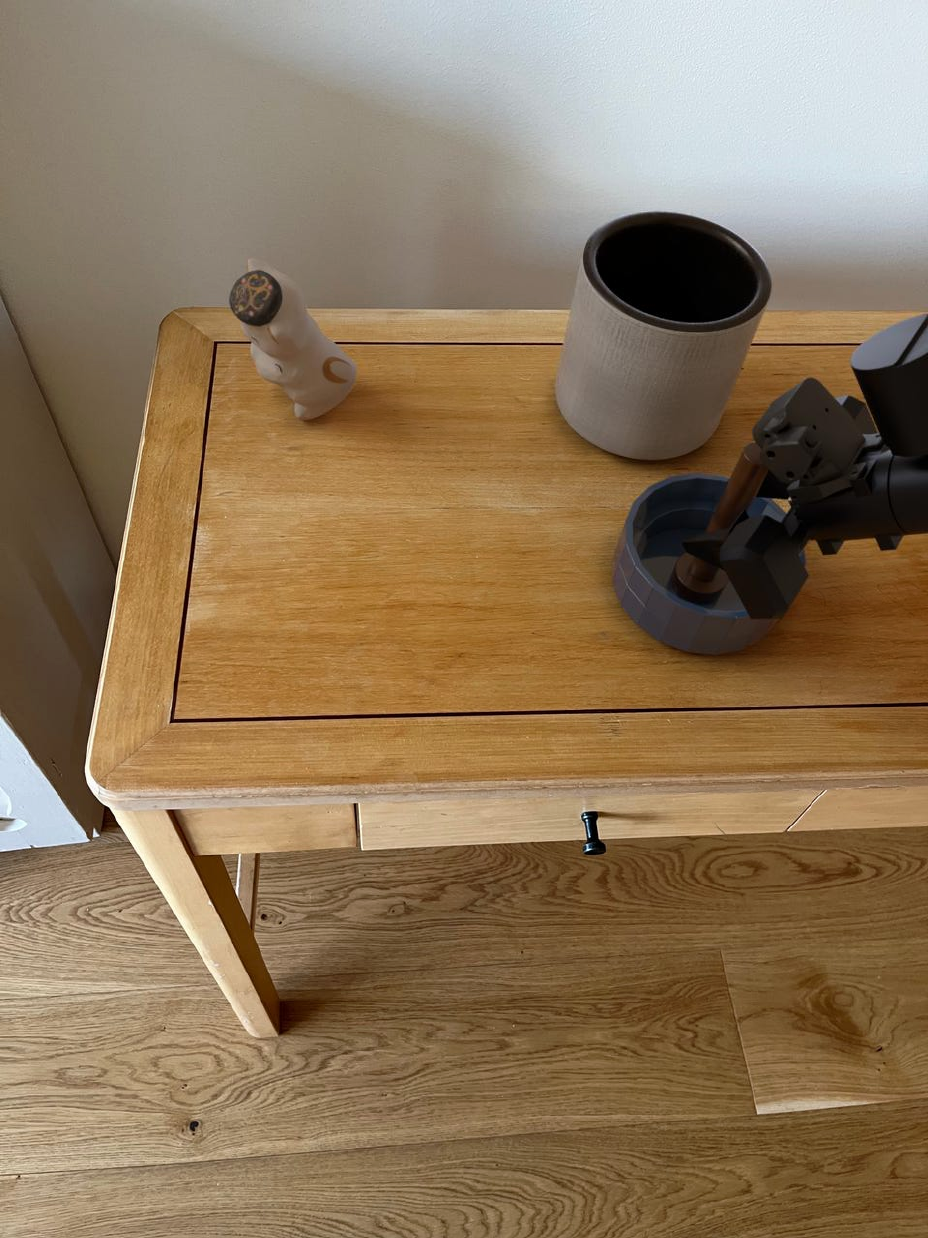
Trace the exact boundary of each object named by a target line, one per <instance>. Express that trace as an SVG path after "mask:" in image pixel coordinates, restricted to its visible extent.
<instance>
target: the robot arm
mask: <svg viewBox="0 0 928 1238" xmlns="http://www.w3.org/2000/svg"><path fill="white" fill-rule="evenodd" d="M849 364H850V368H851V370H852V372H853V375H854V377H855V379H856V381H857V382H856V383H857V384H858V386H859V389H860V391H861V394H862V396H863V398H864V400H865V402H864V401H862V400H860V399H858V398H856V397H854V396H852V395H850V394H847V395H841V396H838V397H835V396H833V395H832V393H831V392H830V391H829V390H828V388H826V387H825V385H823V384H822V383H821V381H820V380H818V379H816V378H814V377H811V376H810V377H806V378H805V379H803V380H802V381H800V382H799V383H797V384H796V385H795V386H793V387H791V388H790V389H788V390H787V391H786V392H784V393H783V394H781V395H780V396H778V397H777V398H775V399H774V400H772V402H771V403H770V404H769V406H768V408H767V409H766V411H765V412H764V413H763V415H762V416H761V417H760V418H759V420H757V422H756V423H755V424H753V427H752V430H751V432H752V433H751V435H752V439H753V440H754V441H753V442H756V444H757V445H758V446H759V447H760V448H761V449H762V450H761V451H760V460H761V461H762V462H763V464H764V465H765V466H766V467H767V468H768V469H769V471H768V473H767V475H766V477H765V479H764V481H763V483H762V485H761V487H760V489H759V491H758V493H757V495H756V496H755V497H760V498H772V500H774V499H775V500H786V501H787V502H788V504H789V506H790V508H789V509H788V511H787V512H786V515H785V517H784V518H783V520H782V521H781V523H780V522H779V521H777V520H775V519H773V518H771V517H769V516H767V515H760V516H752V517H750V518H749V516H748V514H747V512H746V510H745V509H743V510H742V512H741V513H740V514H739V516H738V517H737V519H736V520H735V521H734V523H733V524H732V526H731V527H730V528H726V529H722V530H717V531H713V532H708V533H704V534H699V535H696V536H692V537H689V538H686V539H684V540H683V541H682V545H683V547H684V549H685V551H686V552H687V553H688V554H690V555H692V556H694V557H697V558H699V559H701V560H703V561H705V562H707V563H709V564H711V565H713V566H715V567H718V568H720V569H722V570H724V571H725V572H726V574H727V576H728V578H729V579H730V581H731V583H732V585H733V587H734V589H735V591H736V592H737V594H738V596H739V598H740V600H741V602H742V604H743V605H744V607H745V609H746V611H747V613H748V615H749V617H750V618H751V619H755V620H770V619H778V620H783V618H784V616H785V615H786V614H787V612H788V611H789V609H790V608H791V606H792V605H793V602H794V601H795V599H796V598H797V596H798V594H799V593H800V591H801V590H802V589H803V587H804V585H805V583H806V582H807V581H808V579H809V577H810V575H809V573H808V571H807V568H806V566H804V564H803V562H802V560H801V558H800V555H801V553H802V552H803V550H804V551H805V549H806V547H807V545H808V544H809V543H810V542H811V541H815V542H816V544H817V546H818V548H819V550H820V552H821V555H822V556H835V555H837V554H838V552H839V551H840V549H841V548H842V546H843V545H844V543H845V542H848V541H858V540H859V541H860V540H869V539H870V540H871V539H875V541H876V544H877V545H878V549H879V550H880V552H887V551H895V550H896V551H897V549H898V547H899V546H900V544H901V541H902V540H903V538H904V536H913V535H914V536H915V535H925V534H927V535H928V313H923V314H922V313H921V314H918V315H914V316H912V317H909V318H906V319H903V320H901V321H899V322H896V323H893V324H891V325H889V326H888V327H885V328H884V329H881V330H880V331H879V332H877V333H875V334H873V335H872V336H870V337H869V338H867V339H866V340H865V341H864V342H862V343H861V344H860V345H859V346H858V347H857V348H856V349H855V350H853V352H852V354H851V356H850V359H849ZM728 481H729V480H728ZM728 481H727V482H726V486H727V484H728Z"/></svg>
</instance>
